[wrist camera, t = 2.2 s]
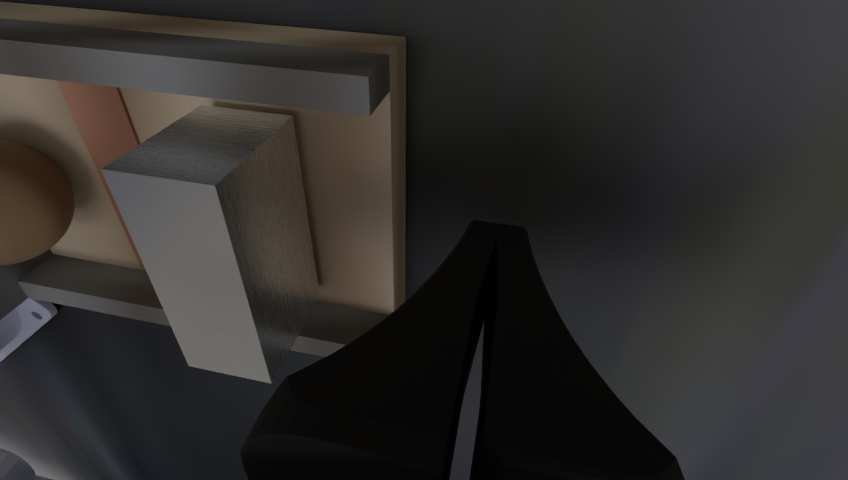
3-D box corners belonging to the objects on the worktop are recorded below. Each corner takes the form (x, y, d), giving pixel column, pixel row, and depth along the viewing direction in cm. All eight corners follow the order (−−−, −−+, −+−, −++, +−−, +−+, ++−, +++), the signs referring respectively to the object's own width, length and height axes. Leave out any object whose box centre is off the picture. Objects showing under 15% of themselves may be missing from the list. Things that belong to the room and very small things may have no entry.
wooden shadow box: (405, 36, 11) (327, 120, 7) (405, 300, 17) (360, 429, 13) (-96, -8, 14) (-360, 38, 10) (48, 238, 19) (-83, 331, 15)
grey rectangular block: (292, 115, 11) (214, 185, 9) (320, 296, 15) (271, 383, 12) (200, 105, 12) (100, 168, 9) (250, 284, 15) (188, 366, 13)
